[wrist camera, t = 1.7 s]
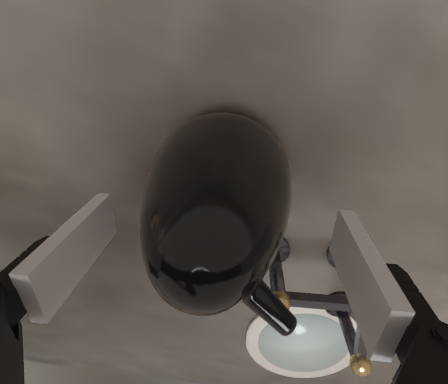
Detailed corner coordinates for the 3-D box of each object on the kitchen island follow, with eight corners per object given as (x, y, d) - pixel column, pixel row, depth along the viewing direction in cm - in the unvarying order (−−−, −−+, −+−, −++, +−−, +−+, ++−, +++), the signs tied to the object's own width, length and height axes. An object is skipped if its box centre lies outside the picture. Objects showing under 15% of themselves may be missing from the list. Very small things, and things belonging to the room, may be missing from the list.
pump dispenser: (240, 230, 28) (230, 400, 14) (150, 173, 26) (38, 308, 12) (311, 152, 23) (393, 289, 10) (209, 76, 21) (138, 118, 8)
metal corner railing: (252, 305, 32) (252, 374, 25) (258, 234, 28) (261, 295, 21) (349, 313, 32) (377, 387, 25) (374, 241, 27) (416, 308, 20)
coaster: (243, 367, 38) (243, 372, 37) (249, 295, 32) (249, 299, 31) (347, 378, 37) (348, 383, 36) (375, 305, 31) (377, 310, 30)
